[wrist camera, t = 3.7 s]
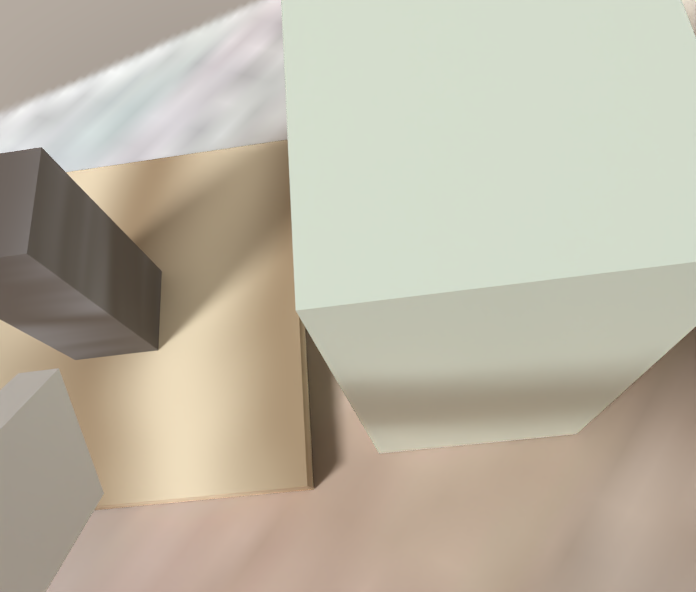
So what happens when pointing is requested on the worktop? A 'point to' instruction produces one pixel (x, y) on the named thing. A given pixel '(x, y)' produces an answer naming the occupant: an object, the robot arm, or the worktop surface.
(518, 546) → the worktop surface
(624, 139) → the tall mint green block
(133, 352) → the post base
